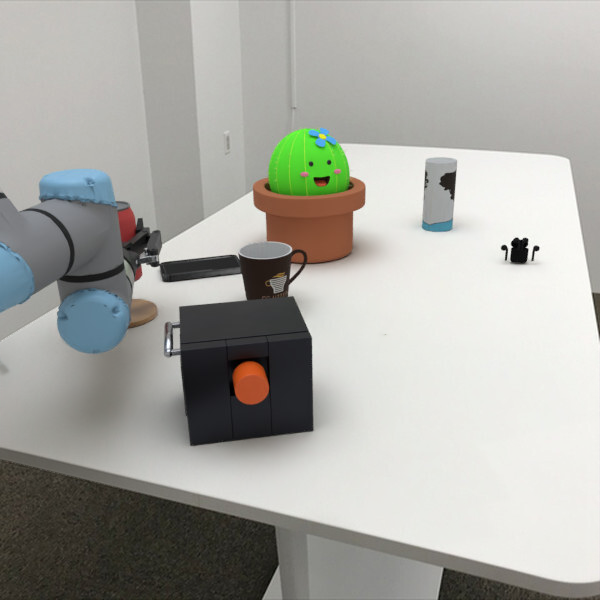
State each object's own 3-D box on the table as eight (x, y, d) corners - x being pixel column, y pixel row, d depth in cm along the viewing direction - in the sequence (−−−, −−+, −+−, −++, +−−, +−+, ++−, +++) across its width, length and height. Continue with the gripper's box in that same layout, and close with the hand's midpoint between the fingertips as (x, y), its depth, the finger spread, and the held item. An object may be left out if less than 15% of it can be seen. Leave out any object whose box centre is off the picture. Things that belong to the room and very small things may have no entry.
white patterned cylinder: (458, 227, 145) (463, 160, 139) (437, 233, 142) (441, 164, 136) (436, 221, 150) (440, 156, 144) (415, 226, 147) (418, 160, 141)
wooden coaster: (84, 314, 106) (83, 310, 105) (139, 298, 112) (139, 294, 111) (111, 334, 99) (110, 330, 98) (169, 316, 105) (168, 311, 104)
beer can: (121, 269, 107) (111, 198, 102) (151, 275, 104) (142, 202, 99) (91, 283, 102) (78, 208, 97) (122, 290, 99) (111, 213, 94)
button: (233, 391, 71) (231, 362, 70) (266, 388, 71) (264, 359, 70) (235, 406, 68) (233, 376, 67) (269, 402, 69) (268, 372, 67)
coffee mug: (243, 320, 102) (239, 260, 98) (239, 299, 110) (236, 243, 106) (316, 314, 104) (315, 255, 100) (307, 294, 112) (306, 238, 108)
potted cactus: (245, 240, 140) (238, 121, 130) (340, 229, 146) (340, 114, 136) (273, 274, 121) (267, 137, 111) (381, 260, 127) (385, 129, 117)
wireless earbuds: (499, 263, 124) (502, 238, 122) (498, 259, 126) (500, 234, 124) (538, 264, 123) (541, 239, 121) (535, 260, 125) (538, 235, 123)
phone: (158, 262, 125) (236, 253, 128) (159, 268, 125) (236, 259, 129) (162, 276, 118) (243, 267, 121) (163, 282, 118) (244, 272, 122)
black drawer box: (172, 393, 83) (163, 307, 78) (295, 380, 85) (293, 295, 80) (173, 448, 72) (161, 352, 67) (313, 430, 75) (312, 337, 70)
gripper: (31, 312, 84) (59, 255, 105) (184, 297, 87) (181, 245, 108) (19, 257, 81) (50, 209, 102) (178, 244, 84) (177, 200, 105)
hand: (118, 228), depth 105 cm, fingers closed on beer can, 7 cm apart
